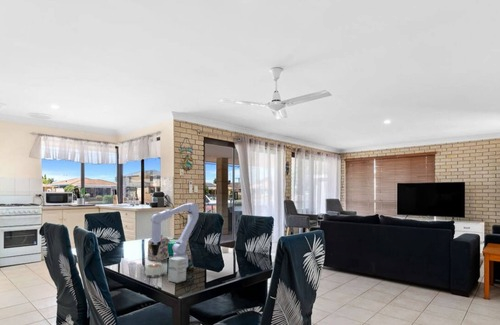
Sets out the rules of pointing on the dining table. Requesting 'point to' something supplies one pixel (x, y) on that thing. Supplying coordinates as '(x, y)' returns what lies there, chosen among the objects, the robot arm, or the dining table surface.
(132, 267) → the dining table surface
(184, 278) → the supplement box
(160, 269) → the octagonal hollow frame
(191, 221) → the robot arm
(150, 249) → the decorative jar
